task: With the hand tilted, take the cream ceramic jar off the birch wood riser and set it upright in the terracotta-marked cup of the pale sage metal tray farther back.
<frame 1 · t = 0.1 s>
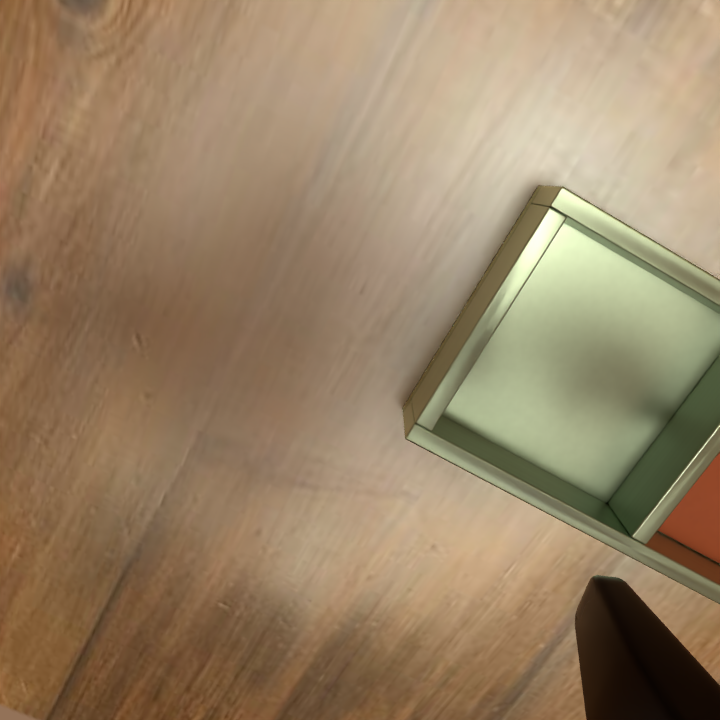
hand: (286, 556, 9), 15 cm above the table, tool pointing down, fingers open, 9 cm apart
tray: (671, 418, 24), on the table
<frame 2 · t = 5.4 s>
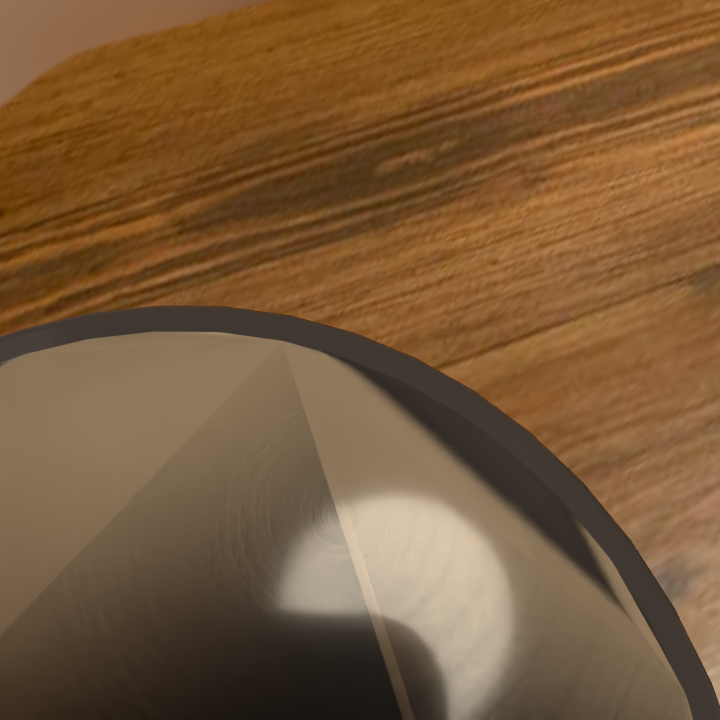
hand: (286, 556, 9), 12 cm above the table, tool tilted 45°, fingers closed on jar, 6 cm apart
jar: (296, 605, 14), point 7 cm above the table, touching gripper, riser
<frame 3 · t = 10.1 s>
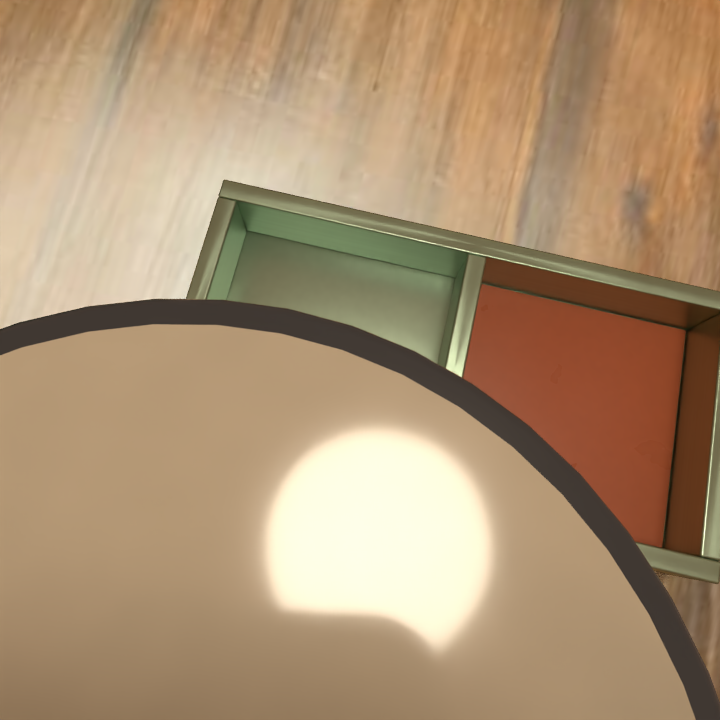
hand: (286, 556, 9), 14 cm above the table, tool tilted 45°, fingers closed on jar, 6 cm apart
jar: (295, 603, 14), point 8 cm above the table, touching gripper
tray: (441, 385, 24), on the table
when the fingers open (7 cm above the table, at t = 15.0 s): jar drops 1 cm, resting on tray.
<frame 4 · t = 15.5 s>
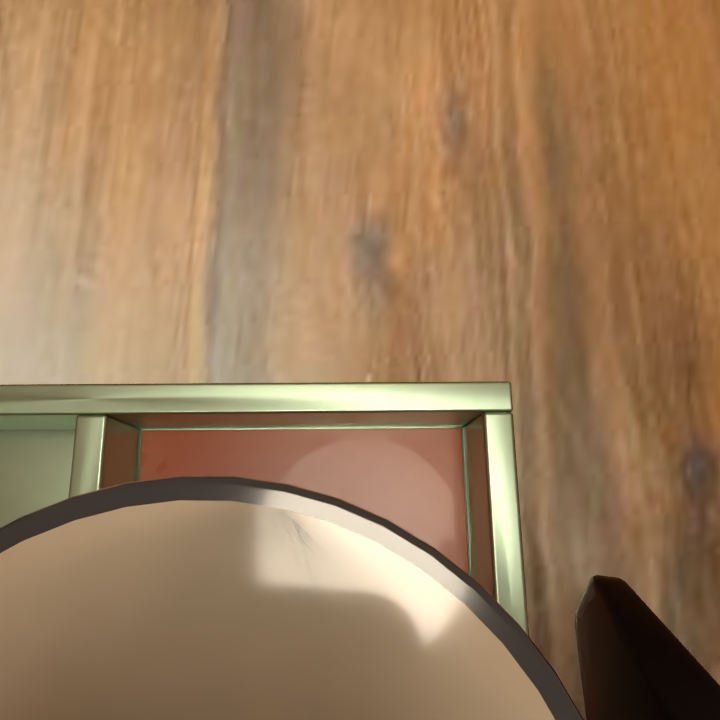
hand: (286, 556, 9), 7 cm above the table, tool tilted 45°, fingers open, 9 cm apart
jar: (294, 642, 15), point 1 cm above the table, touching tray
tray: (122, 597, 16), on the table
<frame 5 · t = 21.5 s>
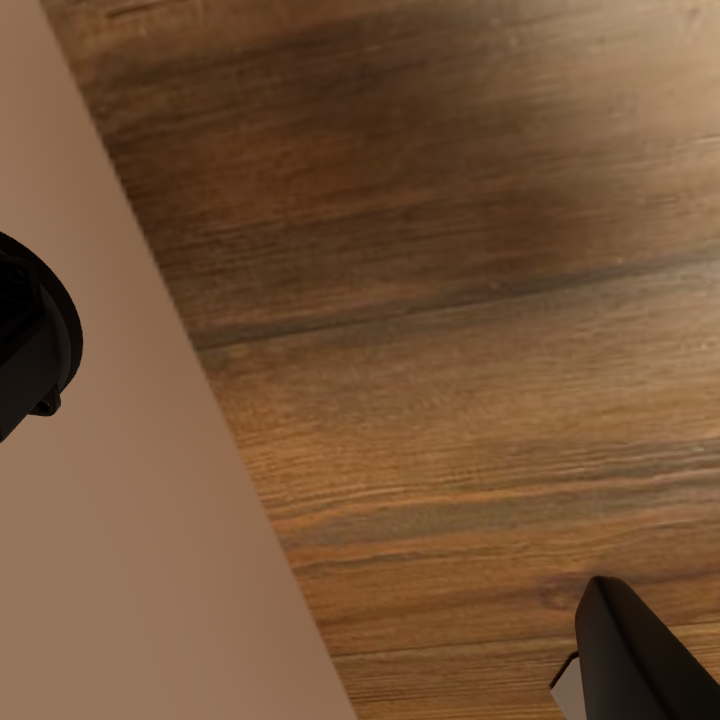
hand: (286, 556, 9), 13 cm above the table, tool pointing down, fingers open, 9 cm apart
flask: (625, 677, 31), on the table
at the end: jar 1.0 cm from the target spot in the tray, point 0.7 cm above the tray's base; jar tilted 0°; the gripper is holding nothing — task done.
